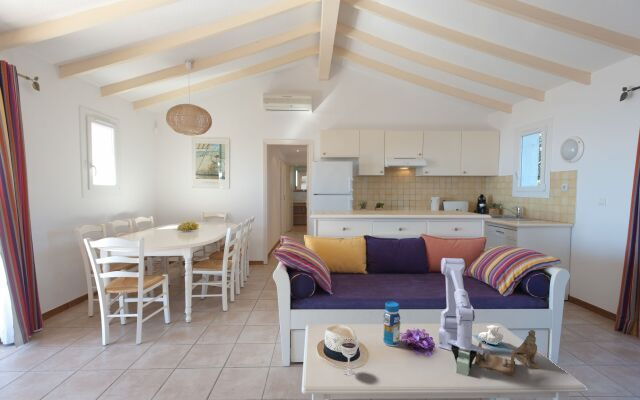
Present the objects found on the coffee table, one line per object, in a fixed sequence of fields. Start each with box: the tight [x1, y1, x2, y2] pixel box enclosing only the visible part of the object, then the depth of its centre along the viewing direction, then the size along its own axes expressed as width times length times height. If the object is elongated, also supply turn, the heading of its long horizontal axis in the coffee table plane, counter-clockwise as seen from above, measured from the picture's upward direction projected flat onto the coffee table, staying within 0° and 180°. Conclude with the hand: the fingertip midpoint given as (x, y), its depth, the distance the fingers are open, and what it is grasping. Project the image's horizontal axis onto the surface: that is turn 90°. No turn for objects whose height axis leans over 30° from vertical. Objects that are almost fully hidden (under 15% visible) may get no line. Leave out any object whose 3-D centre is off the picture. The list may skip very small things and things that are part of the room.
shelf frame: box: [473, 341, 516, 378], centre depth 134 cm, size 15×12×6 cm
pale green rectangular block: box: [456, 349, 471, 376], centre depth 132 cm, size 10×4×5 cm, turn 148°
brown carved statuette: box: [513, 329, 539, 370], centre depth 136 cm, size 12×6×18 cm, turn 176°
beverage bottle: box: [382, 301, 401, 347], centre depth 153 cm, size 8×8×20 cm
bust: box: [477, 324, 504, 343], centre depth 152 cm, size 12×8×11 cm
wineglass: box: [340, 339, 358, 376], centre depth 128 cm, size 7×7×12 cm
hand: (463, 364), depth 132 cm, fingers closed on pale green rectangular block, 5 cm apart
